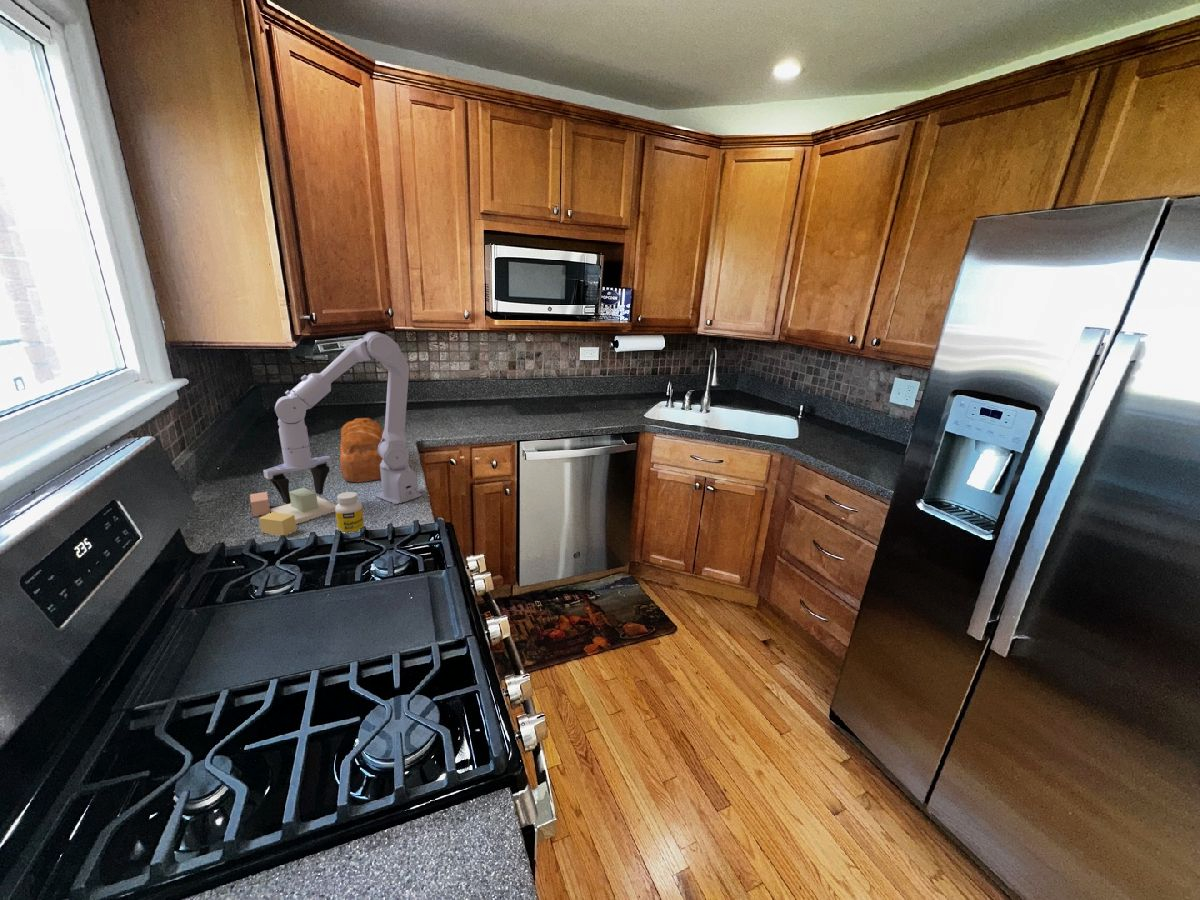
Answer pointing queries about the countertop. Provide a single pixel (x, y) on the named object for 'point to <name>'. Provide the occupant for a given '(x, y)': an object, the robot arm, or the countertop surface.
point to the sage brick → (303, 500)
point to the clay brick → (259, 503)
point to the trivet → (301, 517)
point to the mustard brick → (277, 523)
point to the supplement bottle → (349, 513)
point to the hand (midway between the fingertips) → (303, 498)
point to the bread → (360, 450)
